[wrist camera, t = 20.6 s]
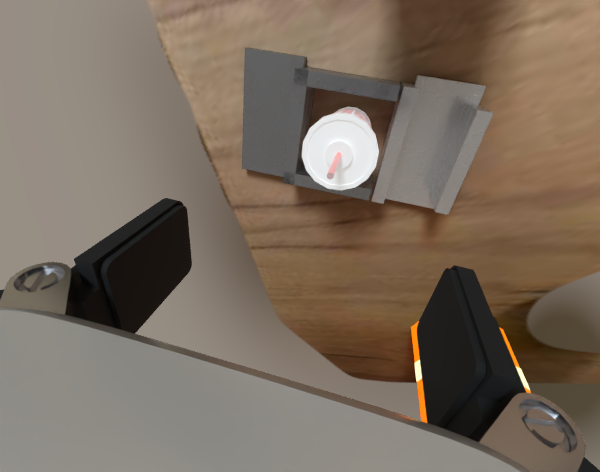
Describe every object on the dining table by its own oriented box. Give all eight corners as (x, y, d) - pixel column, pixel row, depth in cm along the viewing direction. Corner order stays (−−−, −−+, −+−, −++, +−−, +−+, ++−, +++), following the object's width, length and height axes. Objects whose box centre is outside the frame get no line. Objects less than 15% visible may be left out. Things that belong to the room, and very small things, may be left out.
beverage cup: (313, 148, 33) (276, 200, 22) (330, 89, 30) (298, 113, 18) (365, 166, 33) (357, 229, 21) (389, 109, 30) (394, 146, 18)
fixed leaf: (400, 71, 28) (403, 74, 24) (368, 190, 34) (366, 207, 31) (249, 47, 30) (230, 47, 26) (245, 165, 36) (230, 178, 32)
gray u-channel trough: (483, 85, 27) (503, 91, 22) (433, 205, 33) (441, 228, 29) (403, 72, 28) (408, 76, 23) (370, 191, 34) (369, 212, 30)
